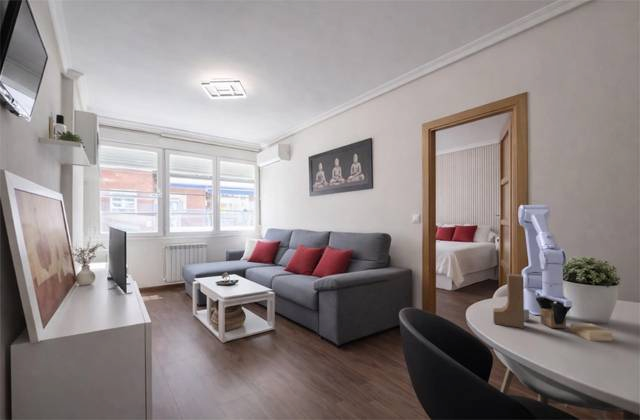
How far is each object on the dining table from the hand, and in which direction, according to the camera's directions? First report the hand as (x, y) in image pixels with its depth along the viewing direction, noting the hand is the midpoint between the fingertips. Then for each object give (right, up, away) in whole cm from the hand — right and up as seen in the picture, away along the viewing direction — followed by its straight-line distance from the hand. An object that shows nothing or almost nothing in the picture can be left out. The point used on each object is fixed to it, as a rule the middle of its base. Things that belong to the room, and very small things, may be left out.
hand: (552, 320), depth 103 cm
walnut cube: (0, -1, 0) cm, 1 cm away
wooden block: (-15, -2, +2) cm, 15 cm away
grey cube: (-7, -2, +7) cm, 10 cm away
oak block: (+6, -2, -8) cm, 10 cm away
